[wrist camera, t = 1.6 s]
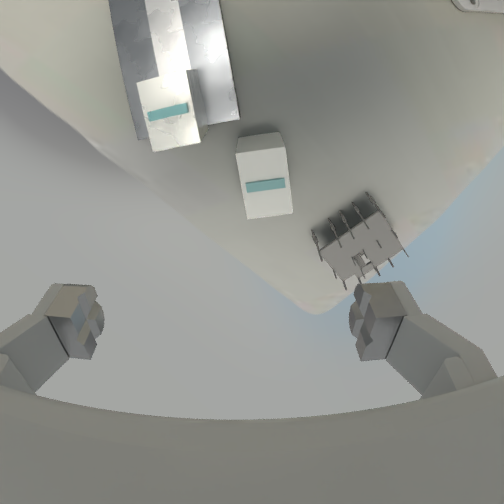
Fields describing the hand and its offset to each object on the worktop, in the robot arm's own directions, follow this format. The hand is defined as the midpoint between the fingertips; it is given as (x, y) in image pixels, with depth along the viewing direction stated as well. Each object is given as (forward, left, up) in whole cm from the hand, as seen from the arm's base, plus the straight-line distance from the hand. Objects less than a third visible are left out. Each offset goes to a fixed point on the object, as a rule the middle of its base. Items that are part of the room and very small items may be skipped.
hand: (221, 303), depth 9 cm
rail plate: (+5, -13, -24) cm, 27 cm away
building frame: (-11, +12, -24) cm, 29 cm away
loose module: (-2, +3, -24) cm, 24 cm away
